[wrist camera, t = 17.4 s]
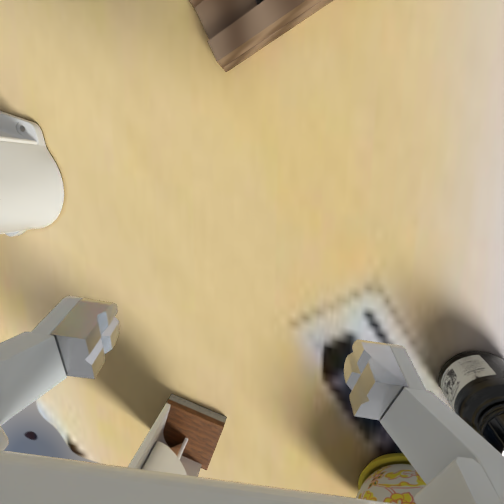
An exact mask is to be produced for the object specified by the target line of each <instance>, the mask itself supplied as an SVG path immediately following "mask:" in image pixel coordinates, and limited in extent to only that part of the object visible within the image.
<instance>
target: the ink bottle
mask: <svg viewBox="0 0 504 504" xmlns="http://www.w3.org/2000/svg"><path fill="white" fill-rule="evenodd" d="M439 384H440V388H441V390H442V392H443V393H444V395H445V397H446V399H447V400H448V402H449V404H450V405H451V407H452V409H453V410H454V412H455V413H456V414H457V415H458V416H459V417H460V418H462V419H463V420H464V421H465V422H466V423H467V424H468V425H469V426H471V427H472V428H473V429H474V430H475V431H476V432H477V433H478V434H479V435H481V436H482V437H483V438H484V439H485V440H486V441H487V442H488V443H490V444H491V445H492V446H493V447H494V448H495V449H496V450H497V451H499V452H500V453H501V454H502V455H503V456H504V360H503V359H502V358H500V357H498V356H496V355H493V354H490V353H486V352H478V351H472V352H465V353H461V354H459V355H456V356H454V357H453V358H451V359H450V360H449V361H448V362H447V363H446V364H445V365H444V367H443V368H442V370H441V372H440V376H439Z"/></svg>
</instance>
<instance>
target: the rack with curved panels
mask: <svg viewBox="0 0 504 504" xmlns="http://www.w3.org/2000/svg"><path fill="white" fill-rule="evenodd" d="M226 418H227V417H225V416H223V415H220V414H218V413H215V412H213V411H211V410H208V409H206V408H204V407H201V406H199V405H197V404H194V403H192V402H190V401H187V400H185V399H183V398H180V397H178V396H176V395H173V394H171V396H170V397H169V399H168V401H167V402H166V404H165V406H164V407H163V409H162V411H161V412H160V414H159V416H158V417H157V419H156V421H155V422H154V424H153V426H152V428H151V429H150V431H149V433H148V434H147V436H146V438H145V439H144V441H143V443H142V444H141V446H140V448H139V449H138V451H137V453H136V454H135V456H134V458H133V459H132V461H131V463H130V464H129V466H128V468H136V469H143V470H151V471H158V472H165V473H173V474H180V475H188V476H195V477H198V474H199V471H200V468H203V469H205V470H207V468H208V465H209V463H210V460H211V458H212V455H213V453H214V450H215V448H216V445H217V442H218V440H219V437H220V435H221V432H222V430H223V427H224V424H225V421H226Z"/></svg>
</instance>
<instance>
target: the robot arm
mask: <svg viewBox="0 0 504 504" xmlns="http://www.w3.org/2000/svg"><path fill="white" fill-rule="evenodd" d="M24 128H25V129H24ZM63 201H64V187H63V181H62V177H61V174H60V171H59V169H58V167H57V165H56V163H55V161H54V159H53V158H52V156H51V155H50V153H49V151H48V149H47V147H46V145H45V141H44V137H43V134H42V131H41V129H40V127H39V126H38V124H36V123H34V122H32V121H29V120H26V119H23V118H20V117H17V116H14V115H11V114H8V113H5V112H2V111H0V234H4V233H5V234H6V235H8V236H18V235H20V234H22V233H24V232H25V231H26V230H29V229H40V228H44V227H46V226H48V225H50V224H51V223H53V222H54V221H55V220H56V218H57V217H58V215H59V214H60V212H61V209H62V206H63ZM117 312H118V309H117V304H115V303H111V302H105V301H100V300H94V299H88V298H81V297H75V296H70V295H69V296H67V297H64V298H63V299H62V300H61V301H60V302H59V303H58V304H57V305H56V306H55V308H54V309H53V310H52V311H51V312H50V313H49V314H48V315H47V316H46V317H45V318H44V319H43V320H42V321H41V322H40V323H39V324H38V325H37V326H36V327H35V328H34V329H33V330H32V331H31V332H24V333H21V334H19V335H17V336H15V337H13V338H10V339H8V340H6V341H4V342H2V343H0V504H395V503H387V502H380V501H373V500H365V499H358V498H350V497H343V496H336V495H328V494H321V493H313V492H306V491H299V490H291V489H284V488H276V487H269V486H262V485H254V484H247V483H239V482H232V481H225V480H217V479H210V478H202V477H195V476H188V475H180V474H173V473H165V472H158V471H151V470H143V469H136V468H128V467H121V466H113V465H106V464H99V463H91V462H84V461H76V460H69V459H61V458H54V457H47V456H39V455H32V454H23V453H16V452H9V451H4V449H5V448H6V447H7V445H8V444H9V442H8V437H7V436H6V434H5V432H4V431H3V429H2V428H1V425H2V424H4V423H5V422H6V421H8V420H9V419H10V418H12V417H13V416H14V415H16V414H17V413H19V412H20V411H21V410H23V409H24V408H25V407H27V406H28V405H30V404H31V403H32V402H34V401H35V400H37V399H38V398H39V397H41V396H42V395H43V394H45V393H46V392H47V391H49V390H50V389H52V388H53V387H54V386H56V385H57V384H58V383H60V382H61V381H63V380H64V379H65V378H67V376H73V377H82V378H91V379H95V377H96V376H97V374H98V372H99V371H100V369H101V367H102V366H103V364H104V362H105V355H104V354H105V353H107V352H109V351H110V350H112V349H113V347H114V345H115V344H116V342H117V339H118V335H119V330H120V324H119V321H118V320H117V319H116V317H115V315H116V314H117ZM352 349H353V353H351V354H350V355H348V356H347V358H346V361H345V365H344V377H345V381H346V384H347V385H348V386H349V388H350V389H351V390H352V392H351V393H350V395H349V398H350V402H351V406H352V410H353V414H354V416H357V417H362V418H368V419H374V420H380V423H381V424H382V426H383V427H384V428H385V430H386V431H387V432H388V434H389V435H390V436H391V438H392V439H393V440H394V442H395V443H396V444H397V446H398V447H399V448H400V450H401V451H402V453H403V454H404V455H405V457H406V458H407V459H408V461H409V462H410V463H411V465H412V466H413V467H414V469H415V470H416V471H417V473H418V474H419V475H420V477H421V478H422V479H423V481H424V482H425V483H426V486H424V487H423V488H422V489H421V490H420V491H419V492H418V493H417V494H416V495H415V497H414V500H415V503H416V504H504V456H503V455H502V454H501V453H500V452H499V451H497V450H496V449H495V448H494V447H493V446H492V445H491V444H490V443H488V442H487V441H486V440H485V439H484V438H483V437H482V436H481V435H479V434H478V433H477V432H476V431H475V430H474V429H473V428H472V427H471V426H469V425H468V424H467V423H466V422H465V421H464V420H463V419H462V418H460V417H459V416H458V415H457V414H456V413H455V412H454V411H453V410H451V409H450V408H449V407H448V406H447V405H446V404H445V403H444V402H443V401H441V400H440V399H439V398H438V397H437V396H436V395H435V394H434V393H432V392H431V391H428V390H426V389H425V387H424V385H423V383H422V381H421V379H420V377H419V375H418V373H417V371H416V369H415V367H414V365H413V363H412V361H411V359H410V357H409V356H408V354H407V352H406V350H405V348H404V347H403V346H400V345H393V344H385V343H379V342H372V341H365V340H356V341H355V342H354V344H353V346H352Z"/></svg>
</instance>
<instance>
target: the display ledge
mask: <svg viewBox="0 0 504 504" xmlns="http://www.w3.org/2000/svg"><path fill="white" fill-rule="evenodd" d="M189 1H190V3H191V4H192V5H193V7H194V8H195V10H196V12H197V15H198V17H199V19H200V21H201V23H202V25H203V27H204V30H205V32H206V34H207V36H208V38H209V41H208V44H209V46H210V48H211V50H212V52H213V54H214V56H215V58H216V61H217V62H218V63H219V65H220V66H221V67H222V68H223V69H224V70H225V72H227V71H229V70H230V69H232V68H233V67H235V66H236V65H238V64H239V63H241V62H242V61H244V60H245V59H247V58H248V57H250V56H251V55H252V54H254V53H255V52H257V51H258V50H260V49H261V48H263V47H264V46H266V45H267V44H269V43H270V42H272V41H273V40H275V39H276V38H278V37H279V36H281V35H282V34H284V33H285V32H287V31H288V30H290V29H291V28H293V27H294V26H296V25H297V24H299V23H300V22H302V21H303V20H305V19H306V18H308V17H309V16H311V15H312V14H313V13H315V12H316V11H318V10H319V9H321V8H322V7H324V6H325V5H327V4H328V3H330V2H331V1H333V0H264V1H262V2H261V3H260V4H258V5H257V3H256V1H255V0H189Z"/></svg>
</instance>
